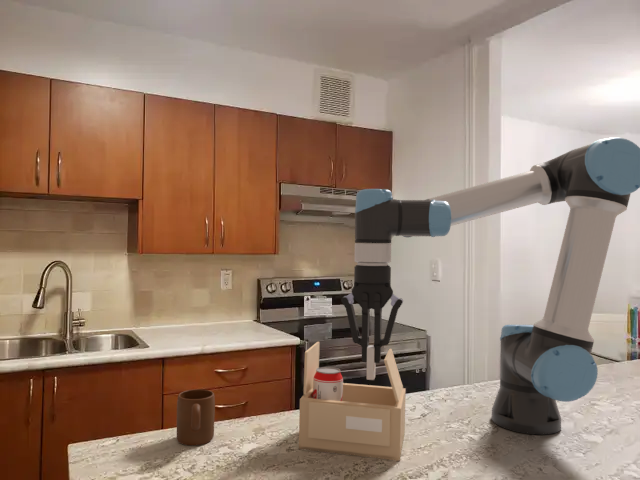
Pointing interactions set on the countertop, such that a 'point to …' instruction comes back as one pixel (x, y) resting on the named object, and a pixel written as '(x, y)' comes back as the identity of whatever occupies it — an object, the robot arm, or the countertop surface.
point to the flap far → (310, 366)
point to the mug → (195, 417)
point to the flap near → (393, 375)
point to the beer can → (328, 384)
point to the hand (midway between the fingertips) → (370, 377)
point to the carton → (354, 422)
